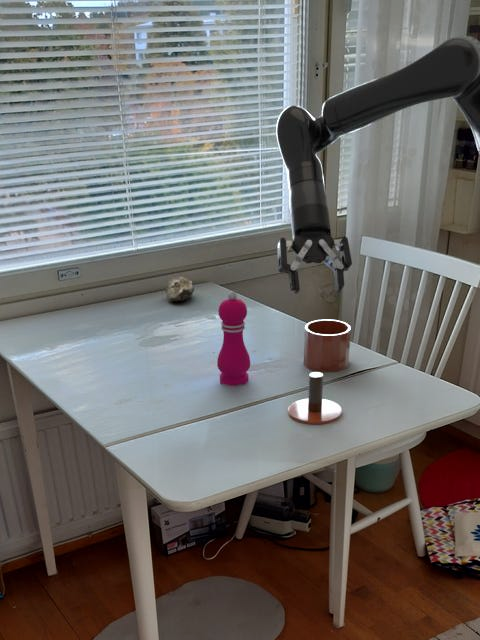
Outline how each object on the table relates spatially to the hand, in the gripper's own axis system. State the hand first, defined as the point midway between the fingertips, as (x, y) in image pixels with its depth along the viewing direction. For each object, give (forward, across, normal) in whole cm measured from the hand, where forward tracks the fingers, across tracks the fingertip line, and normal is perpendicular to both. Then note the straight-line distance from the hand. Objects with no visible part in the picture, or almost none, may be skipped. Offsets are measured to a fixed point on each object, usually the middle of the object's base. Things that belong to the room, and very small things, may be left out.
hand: (318, 291), depth 152 cm
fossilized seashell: (-27, -18, +70) cm, 77 cm away
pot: (+6, +9, +28) cm, 30 cm away
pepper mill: (+11, -14, +24) cm, 30 cm away
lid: (+22, -1, +8) cm, 23 cm away
